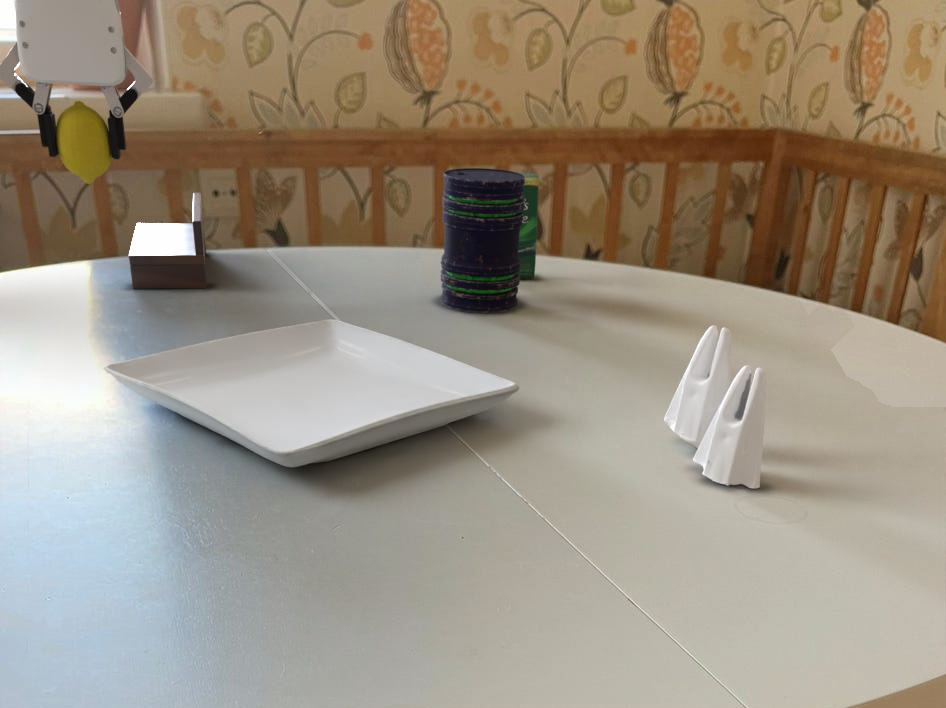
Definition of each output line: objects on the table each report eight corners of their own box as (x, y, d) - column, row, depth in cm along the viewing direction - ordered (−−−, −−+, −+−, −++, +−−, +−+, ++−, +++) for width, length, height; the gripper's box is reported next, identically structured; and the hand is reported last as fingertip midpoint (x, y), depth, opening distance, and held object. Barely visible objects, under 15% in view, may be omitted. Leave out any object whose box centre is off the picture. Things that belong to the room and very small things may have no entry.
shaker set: (658, 438, 94) (675, 313, 88) (701, 435, 95) (721, 312, 89) (716, 492, 85) (739, 356, 79) (763, 488, 86) (789, 354, 80)
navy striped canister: (522, 296, 136) (530, 171, 128) (513, 316, 127) (521, 183, 119) (447, 290, 137) (450, 165, 129) (433, 309, 128) (435, 177, 120)
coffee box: (476, 278, 143) (480, 174, 136) (474, 273, 145) (478, 171, 138) (534, 280, 143) (541, 176, 136) (531, 275, 146) (538, 173, 139)
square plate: (286, 497, 80) (283, 449, 78) (103, 403, 96) (96, 361, 94) (522, 418, 97) (524, 377, 95) (333, 349, 113) (332, 312, 111)
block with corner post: (140, 253, 147) (132, 192, 143) (206, 253, 149) (200, 192, 145) (132, 288, 131) (124, 220, 126) (207, 287, 132) (200, 221, 128)
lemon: (60, 188, 110) (48, 102, 105) (63, 179, 114) (52, 97, 110) (116, 189, 111) (106, 105, 107) (116, 180, 115) (107, 99, 111)
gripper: (153, -40, 106) (170, 154, 116) (-29, -54, 103) (4, 148, 112) (151, -41, 100) (168, 164, 110) (-43, -55, 96) (-7, 158, 106)
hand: (85, 154), depth 111 cm, fingers closed on lemon, 5 cm apart
